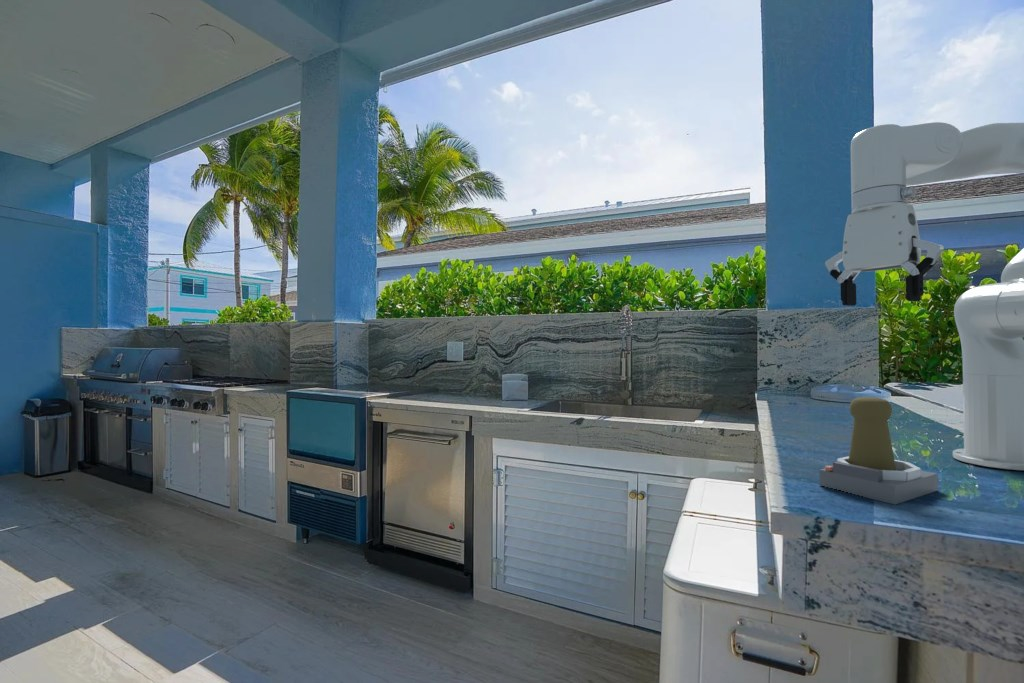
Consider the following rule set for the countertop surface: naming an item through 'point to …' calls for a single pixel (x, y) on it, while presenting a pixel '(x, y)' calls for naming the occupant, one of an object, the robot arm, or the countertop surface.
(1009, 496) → the countertop surface
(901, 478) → the octagon ring plate
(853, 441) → the cork
